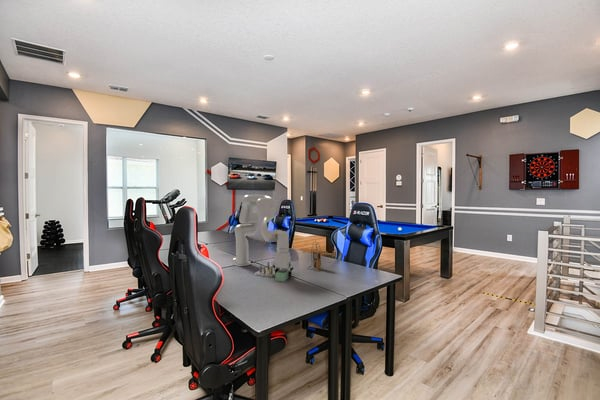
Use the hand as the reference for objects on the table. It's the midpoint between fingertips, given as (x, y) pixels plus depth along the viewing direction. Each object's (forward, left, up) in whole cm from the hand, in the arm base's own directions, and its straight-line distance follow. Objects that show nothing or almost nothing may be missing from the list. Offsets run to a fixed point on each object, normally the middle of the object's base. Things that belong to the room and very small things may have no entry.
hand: (283, 276), depth 190 cm
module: (0, 0, -2) cm, 2 cm away
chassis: (-15, +8, -1) cm, 17 cm away
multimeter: (+9, +28, -2) cm, 29 cm away
